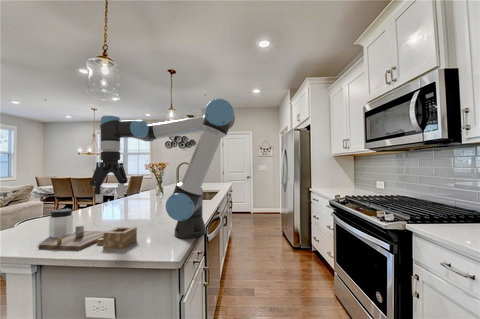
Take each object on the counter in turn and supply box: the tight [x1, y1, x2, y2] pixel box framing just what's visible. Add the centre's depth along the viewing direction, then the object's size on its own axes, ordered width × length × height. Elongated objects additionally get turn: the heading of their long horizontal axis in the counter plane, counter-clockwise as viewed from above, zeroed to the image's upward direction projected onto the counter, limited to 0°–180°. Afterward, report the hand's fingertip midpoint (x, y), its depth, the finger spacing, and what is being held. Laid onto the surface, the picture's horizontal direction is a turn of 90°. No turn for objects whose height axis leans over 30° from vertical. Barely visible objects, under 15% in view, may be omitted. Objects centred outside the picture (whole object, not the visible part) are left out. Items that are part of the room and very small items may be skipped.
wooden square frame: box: [96, 226, 138, 249], centre depth 95 cm, size 14×9×6 cm, turn 84°
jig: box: [38, 225, 108, 251], centre depth 99 cm, size 18×20×6 cm
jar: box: [48, 208, 74, 239], centre depth 108 cm, size 9×8×12 cm
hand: (110, 199), depth 97 cm, fingers open, 13 cm apart
